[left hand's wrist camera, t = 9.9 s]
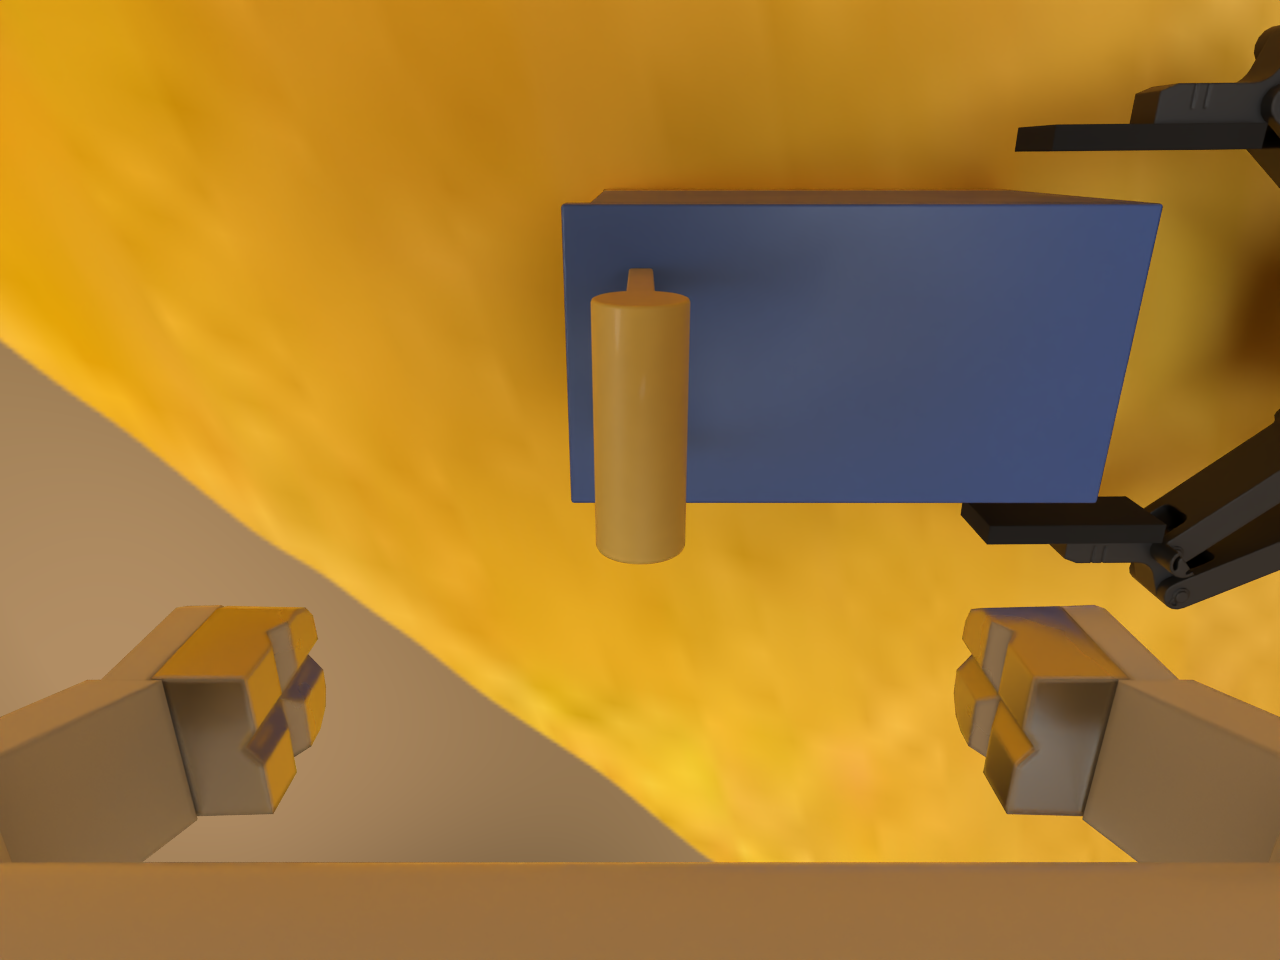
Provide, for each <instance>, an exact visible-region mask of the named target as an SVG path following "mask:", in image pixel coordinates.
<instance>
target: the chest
mask: <svg viewBox="0 0 1280 960" xmlns="http://www.w3.org/2000/svg"><path fill="white" fill-rule="evenodd" d="M591 203H1144V202H1136V201H1124V200H1113V199H1102V198H1090V197H1079V196H1068V195H1056V194H1045V193H1034V192H1022V191H1011V190H1005V189H604V190H603V192H602V193H601V194H600V195H599V196H598V197H597V198H595V199H594V200H593V201H592V202H591Z"/></svg>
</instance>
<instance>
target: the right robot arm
mask: <svg viewBox="0 0 1280 960" xmlns="http://www.w3.org/2000/svg"><path fill="white" fill-rule="evenodd" d="M1254 55H1255V59H1256V61H1255V62H1254V64H1253V66H1252V68H1251V69H1250V71H1249V72H1248V73H1247V75H1246V76H1245V77H1244V78H1243V79H1241V80H1240V81H1238V82H1237V83H1178V84H1171V85H1164V86H1157V87H1151V88H1149V89H1146V90H1144V91H1142V92H1139V93H1137V94H1135V99H1134V105H1133V110H1132V115H1131V120H1130V124H1073V125H1046V126H1033V127H1021V128H1018V134H1017V141H1016V147H1015V152H1022V151H1124V150H1220V149H1247V151H1248V152H1249V153H1250V154H1251V155H1252V156H1253V158H1254V159H1255V160H1256V161H1257V162H1258V163H1259V165H1260V166H1261V167H1262V168H1263V169H1264V170H1265V172H1266V173H1267V174H1268V175H1269V176H1270V177H1271V178H1272V180H1273V181H1274V182H1275V183H1276V184H1277V185H1278V187H1279V188H1280V25H1279V26H1274V27H1271V28H1269V29H1267V30H1266V31H1264V32H1263V34H1262V35H1261V36H1260V37H1259V38H1258V40H1257V42H1256V44H1255V50H1254ZM1274 416H1275V421H1274V423H1272V424H1271V425H1270V426H1268V427H1267V428H1265V429H1264V430H1262V431H1261V432H1259V433H1258V434H1256V435H1255V436H1253V437H1252V438H1250V439H1249V440H1247V441H1246V442H1244V443H1242V444H1241V445H1239V446H1238V447H1236V448H1235V449H1233V450H1232V451H1230V452H1229V453H1227V454H1226V455H1224V456H1223V457H1221V458H1220V459H1218V460H1217V461H1215V462H1214V463H1212V464H1211V465H1209V466H1208V467H1206V468H1205V469H1203V470H1202V471H1200V472H1199V473H1197V474H1196V475H1194V476H1192V477H1191V478H1189V479H1188V480H1186V481H1185V482H1183V483H1182V484H1180V485H1179V486H1177V487H1176V488H1174V489H1173V490H1171V491H1170V492H1168V493H1167V494H1165V495H1164V496H1162V497H1161V498H1159V499H1158V500H1156V501H1155V502H1153V503H1152V504H1150V505H1149V506H1147V507H1145V508H1144V509H1143V508H1142V507H1140V506H1139V505H1138V504H1136V503H1135V502H1133V501H1132V500H1130V499H1129V498H1127V497H1126V496H1122V497H1097V501H1096V503H962V509H961V516H962V517H963V518H964V519H965V520H966V521H967V522H968V524H969V525H970V526H971V527H972V528H973V529H974V530H975V531H976V533H977V534H978V535H979V536H980V537H981V538H982V539H983V540H984V541H985V543H986V544H1050V545H1051V546H1052V547H1053V548H1054V549H1055V550H1056V551H1057V552H1058V553H1059V554H1060V555H1061V556H1062V557H1063V558H1065V559H1067V560H1070V561H1073V562H1075V563H1090V562H1092V563H1101V562H1103V563H1131V565H1130V567H1129V570H1130V574H1131V575H1132V577H1133V578H1135V579H1136V580H1137V581H1138V582H1139V583H1140V584H1142V585H1143V586H1144V587H1145V588H1146V589H1147V590H1149V591H1150V592H1151V593H1152V594H1153V595H1155V596H1156V597H1157V598H1158V599H1159V600H1160V601H1162V602H1163V603H1164V604H1165V605H1166V606H1168V607H1169V608H1171V609H1181V608H1185V607H1187V606H1190V605H1192V604H1195V603H1197V602H1200V601H1202V600H1205V599H1207V598H1210V597H1213V596H1215V595H1218V594H1220V593H1223V592H1225V591H1228V590H1230V589H1233V588H1235V587H1238V586H1240V585H1243V584H1246V583H1248V582H1251V581H1253V580H1256V579H1258V578H1261V577H1263V576H1266V575H1268V574H1271V573H1273V572H1276V571H1279V570H1280V409H1279V410H1278V411H1277V412H1276V413H1275V415H1274Z"/></svg>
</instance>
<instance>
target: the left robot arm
mask: <svg viewBox="0 0 1280 960" xmlns="http://www.w3.org/2000/svg"><path fill="white" fill-rule="evenodd" d="M317 639H318V637H317V633H316V628H315V623H314V618H313V615H312V614H311V613H310V612H309V611H308V610H307V609H306V608H302V607H250V606H226V607H224V606H222V605H212V606H185V607H178V608H176V609H175V610H173V611H172V612H171V613H170V614H169V615H168V616H167V617H166V618H165V619H164V620H163V621H162V622H161V623H160V624H159V625H158V626H157V627H156V628H155V629H154V630H153V631H151V632H150V633H149V634H148V635H147V636H146V637H145V638H144V639H143V640H142V641H141V642H140V643H139V644H138V645H137V646H136V647H135V648H134V649H133V650H132V651H131V652H130V653H128V654H127V655H126V656H125V657H124V658H123V659H122V660H121V661H120V662H119V663H118V664H117V665H116V666H115V667H114V668H113V669H112V670H111V671H110V672H109V673H108V674H107V675H105V676H104V677H103V678H102V679H101V680H86V681H84V682H81V683H79V684H77V685H74V686H72V687H70V688H67V689H65V690H63V691H60V692H58V693H55V694H53V695H51V696H48V697H46V698H44V699H41V700H39V701H37V702H34V703H32V704H30V705H27V706H25V707H23V708H20V709H18V710H16V711H13V712H11V713H9V714H6V715H4V716H2V717H0V960H1280V717H1278V716H1276V715H1274V714H1271V713H1269V712H1267V711H1264V710H1262V709H1260V708H1257V707H1255V706H1253V705H1250V704H1248V703H1245V702H1243V701H1241V700H1238V699H1236V698H1234V697H1231V696H1229V695H1227V694H1224V693H1222V692H1220V691H1217V690H1215V689H1213V688H1210V687H1208V686H1206V685H1203V684H1201V683H1199V682H1196V681H1194V680H1179V679H1178V678H1177V677H1176V676H1175V675H1174V674H1173V673H1171V672H1170V671H1169V670H1168V669H1167V668H1166V667H1165V666H1164V665H1163V664H1162V663H1161V662H1160V661H1159V660H1158V659H1157V658H1156V657H1155V656H1154V655H1153V654H1152V653H1151V652H1150V651H1149V650H1147V649H1146V648H1145V647H1144V646H1143V645H1142V644H1141V643H1140V642H1139V641H1138V640H1137V639H1136V638H1135V637H1134V636H1133V635H1132V634H1131V633H1130V632H1129V631H1128V630H1127V629H1126V628H1125V627H1124V626H1122V625H1121V624H1120V623H1119V622H1118V621H1117V620H1116V619H1115V618H1114V617H1113V616H1112V615H1111V614H1110V613H1109V612H1108V611H1107V610H1106V609H1104V608H1101V607H1098V606H1095V605H1083V606H1050V607H1010V608H978V609H971V611H970V613H969V615H968V617H967V619H966V621H965V626H964V632H963V637H962V639H963V641H964V643H965V644H966V646H967V647H968V649H969V650H970V652H971V653H972V655H971V656H970V657H969V658H968V659H967V660H966V661H965V662H964V663H963V664H962V665H961V666H960V667H959V668H958V669H957V673H956V680H955V688H954V701H955V712H956V718H957V721H958V724H959V727H960V730H961V733H962V735H963V736H964V738H965V740H966V742H967V744H968V746H969V747H971V748H973V749H974V750H976V751H977V752H979V753H980V754H982V755H983V756H985V757H986V760H985V765H984V771H983V773H984V774H985V776H986V778H987V780H988V782H989V783H990V785H991V787H992V789H993V790H994V792H995V794H996V796H997V797H998V799H999V801H1000V803H1001V804H1002V806H1003V808H1004V810H1005V811H1006V813H1007V814H1026V815H1063V816H1083V820H1084V821H1085V822H1087V823H1088V824H1089V825H1090V826H1092V827H1093V828H1094V829H1096V830H1097V831H1098V832H1100V833H1101V834H1102V835H1103V836H1105V837H1106V838H1107V839H1109V840H1110V841H1111V842H1113V843H1114V844H1115V845H1116V846H1118V847H1119V848H1120V849H1122V850H1123V851H1124V852H1126V853H1127V854H1128V855H1129V856H1131V857H1132V858H1133V859H1135V860H1136V861H1137V862H676V863H675V862H667V863H666V862H654V863H653V862H645V863H644V862H637V863H636V862H627V863H626V862H624V863H623V862H616V863H615V862H603V863H602V862H599V863H598V862H587V863H586V862H584V863H583V862H580V863H579V862H569V863H568V862H552V863H551V862H550V863H548V862H544V863H542V862H538V863H537V862H534V863H533V862H531V863H530V862H525V863H523V862H516V863H515V862H514V863H513V862H509V863H508V862H505V863H504V862H493V863H492V862H480V863H479V862H143V861H144V860H146V859H147V858H148V857H149V856H151V855H152V854H153V853H155V852H156V851H157V850H159V849H160V848H161V847H163V846H164V845H165V844H166V843H168V842H169V841H170V840H172V839H173V838H174V837H176V836H177V835H178V834H179V833H181V832H182V831H183V830H185V829H186V828H187V827H189V826H190V825H191V824H192V823H194V822H195V821H196V820H197V816H216V815H252V814H273V813H274V812H275V810H276V808H277V806H278V805H279V803H280V801H281V799H282V797H283V796H284V794H285V792H286V790H287V789H288V787H289V785H290V783H291V782H292V780H293V778H294V776H295V774H296V773H297V771H296V765H295V760H294V757H295V756H297V755H298V754H300V753H301V752H303V751H304V750H306V749H307V748H309V747H311V746H312V744H313V742H314V740H315V738H316V736H317V734H318V732H319V731H320V728H321V724H322V719H323V715H324V711H325V707H326V685H325V679H324V672H323V669H322V668H321V667H320V666H319V665H318V664H317V663H316V662H315V661H314V660H313V659H312V658H311V657H310V656H309V655H308V653H309V652H310V650H311V649H312V647H313V646H314V644H315V643H316V641H317Z"/></svg>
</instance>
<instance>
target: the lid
mask: <svg viewBox="0 0 1280 960" xmlns="http://www.w3.org/2000/svg"><path fill="white" fill-rule="evenodd" d="M1162 208H1163V206H1162V205H1161V204H1158V203H565V204H563V205H562V207H561V215H562V244H563V273H564V302H565V331H566V360H567V390H568V419H569V448H570V477H571V500H572V502H574V503H595V516H596V545H597V548H598V550H599V551H600V552H601V553H602V554H603V555H604V556H606V557H608V558H610V559H612V560H615V561H618V562H623V563H629V564H652V563H658V562H663V561H666V560H669V559H671V558H673V557H675V556H677V555H678V554H679V553H680V552H681V551H682V550H683V548H684V546H685V521H686V503H1096V501H1097V497H1098V493H1099V488H1100V484H1101V479H1102V475H1103V471H1104V466H1105V462H1106V457H1107V453H1108V448H1109V444H1110V439H1111V435H1112V430H1113V426H1114V422H1115V417H1116V413H1117V408H1118V404H1119V399H1120V395H1121V390H1122V386H1123V381H1124V377H1125V373H1126V368H1127V364H1128V359H1129V355H1130V350H1131V346H1132V341H1133V337H1134V332H1135V328H1136V323H1137V319H1138V315H1139V310H1140V306H1141V301H1142V297H1143V292H1144V288H1145V283H1146V279H1147V274H1148V270H1149V266H1150V261H1151V257H1152V252H1153V248H1154V243H1155V239H1156V234H1157V230H1158V225H1159V221H1160V216H1161V212H1162Z"/></svg>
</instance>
